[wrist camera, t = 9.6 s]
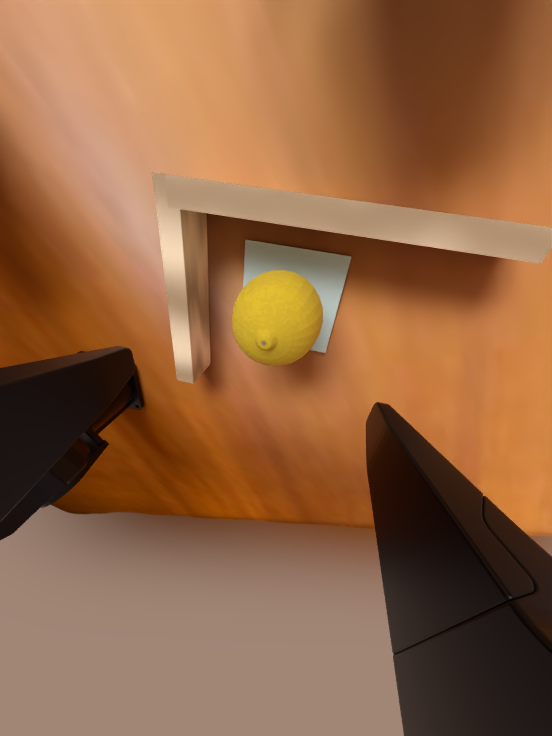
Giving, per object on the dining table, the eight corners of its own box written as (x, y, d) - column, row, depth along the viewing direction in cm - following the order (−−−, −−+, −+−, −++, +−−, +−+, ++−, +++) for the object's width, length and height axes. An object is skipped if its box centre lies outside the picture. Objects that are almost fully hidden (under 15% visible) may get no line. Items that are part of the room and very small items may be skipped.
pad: (325, 351, 20) (325, 353, 20) (241, 334, 21) (240, 336, 20) (351, 256, 16) (351, 256, 16) (246, 239, 17) (245, 239, 16)
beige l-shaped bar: (411, 406, 21) (424, 435, 18) (196, 360, 23) (177, 380, 20) (513, 229, 14) (563, 228, 11) (184, 183, 16) (151, 172, 13)
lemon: (323, 258, 16) (320, 279, 9) (324, 333, 19) (322, 390, 12) (247, 266, 17) (197, 289, 11) (258, 335, 20) (224, 389, 13)
